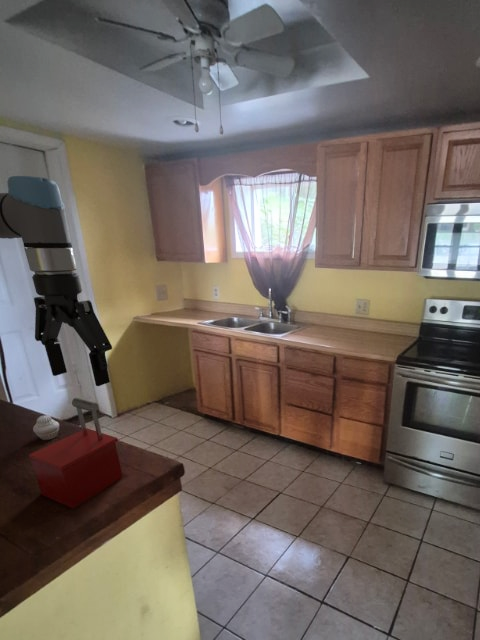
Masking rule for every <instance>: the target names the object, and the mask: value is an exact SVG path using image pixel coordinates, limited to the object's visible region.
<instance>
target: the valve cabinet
mask: <svg viewBox="0 0 480 640" xmlns="http://www.w3.org/2000/svg"><path fill="white" fill-rule="evenodd" d="M29 459H30V463H31V466H32V468H33V472H34V475H35V478H36V481H37V484H38V487H39V490H40V493H41V495H43V496H45V497H47V498H49V499H51V500H53V501H56V502H58V503H60V504H61V505H64V506H66V507H69V508H71V509H75V508H76V507H78V506H79V505H81V504H82V503H84V502H85V501H87V500H89V499H91V497H92V498H93V496H95V495H97V494H98V493H100V492H101V491H103V490H104V489H106V488H108V487H110V485H112V484H114V483H116V482H117V481H119V480H120V479H122V478H123V477H124V476H123V472H122V468H121V464H120V458H119V453H118V448H117V444H116V442H115V443H113V444H111V445H109V446H107V447H106V448H104V449H102V450H100V451H98V452H96V453H94V454H92V455H90V456H88V457H87V458H85V459H83V460H81V461H79V462H77V463H75V464H73V465H71V466H70V467H68V468H66V469H64V470H59V469H57V468H54V467H52V466H49V465H47V464H44V463H42V462H39V461H37V460H34V459H32V458H30V457H29Z"/></svg>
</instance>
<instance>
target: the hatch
mask: <svg viewBox="0 0 480 640" xmlns="http://www.w3.org/2000/svg"><path fill="white" fill-rule="evenodd" d="M71 405H72V406H73V407H74V408H76V412H77V417H78V420H79V424H80V428H81V430H80V431H78V432H75V433H73V434H70V435H69V436H67V437H64V438H62V439H60V440H58V441H55V442H53V443H51V444H49V445H47V446H44V447H42V448H40V449H38V450H36V451H33V452H32V453H28V456H29V459H30V458H32V459H34V460H37V461H39V462H42V463H44V464H47V465H49V466H52V467H54V468H57V469H59V470H64V469H66V468H68V467H70V466H71V465H73V464H75V463H77V462H79V461H81V460H83V459H85V458H87V457H88V456H90V455H92V454H94V453H96V452H98V451H100V450H102V449H104V448H106V447H107V446H109V445H111V444H113V443H115V444H116V443H117V442H119V438H118V437H117V436H113V435H109V434H106V433H104V432H102V429H101V425H100V421H99V416H98V413H97V411H98V410H99V404H98V403H97V402H94V401H90V400H86V399H83V398H80V397H74V398H73V399H72V400H71ZM83 410H85V411H89V412H90V413H91V415H92V420H93V425H94V428H95V430H94V429H91V428H88V427H87V425H86V421H85V417H84V413H83Z"/></svg>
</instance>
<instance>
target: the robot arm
mask: <svg viewBox="0 0 480 640" xmlns="http://www.w3.org/2000/svg"><path fill="white" fill-rule="evenodd" d="M7 189H8V190H7V192H0V239H21V241H22V243H23V248H24V252H25V256H26V260H27V264H28V267H29V271H31V272H34V274H32V276H31V278H32V282H33V286H34V290H35V293H36V294H37V295H38V296H35V297H33V302H34V307H35V319H34V321H35V322H34V339H35V341H36V342H41V344H42V345H43V346H44V349H45V353H46V356H47V359H48V362H49V366H50V370H51V374H52V376H54V377H56V376H59V375H64V374H66V373H68V370H67V366H66V363H65V358H64V354H63V351H62V346H61V344H60V343H59V342H60V340H59V338H58V337H59V334H60V331H61V328H62V325H63V323H64V324H66V325H68V326H69V327H71V328H73V329H74V331H75V332H76V334H77V335H78V336H79V338H80V339H81V340H82V342H83V343H84V344H85V346H86V348H87V349H88V350H89V351H90V352H89V353H88V358H89V361H90V362H89V363H90V367H91V371H92V376H93V380H94V384H95V386H96V387H101V386H103V385H107V384H108V383H111V380H110V375H109V370H108V361H107V356H106V352H108V351H111V350H112V349H113V345H112V344H111V341H110V339H109V338H108V336H107V334H106V332H105V330H104V328H103V327H102V324H101V323H100V321H99V318H98V317H97V315H96V312H95V309H94V306H93V303H92V301H91V300H81V301H80V299H79V296H78V295H80V294H81V293H82V292H83V289H82V284H81V279H80V275H79V274H78V273H77V272H75V271H77V268H78V267H77V263H76V258H75V254H74V250H73V244H72V238H71V233H70V228H69V223H68V219H67V214H66V209H65V207H66V206H65V203H64V202H63V199H62V195H61V191H60V188H59V185H58V184H57V182H55V181H54V180H53V179H50V178H47V177H40V176H31V175H12V176H9V177H8V180H7Z"/></svg>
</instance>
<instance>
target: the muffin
mask: <svg viewBox="0 0 480 640" xmlns="http://www.w3.org/2000/svg"><path fill="white" fill-rule="evenodd" d="M59 430H60V423H59V421H56V420H55V419H53V418H52V416H50V415H45V414H44V415H40V416H39V417H37V419H36V423H35V424H34V426H33V427H32V431H33V433H34V434H35V435H36V436H37V437H38V438H39V439H41V440H42V441H49V440H52V439H55V438H56V437H57V436H58V434H59Z"/></svg>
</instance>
